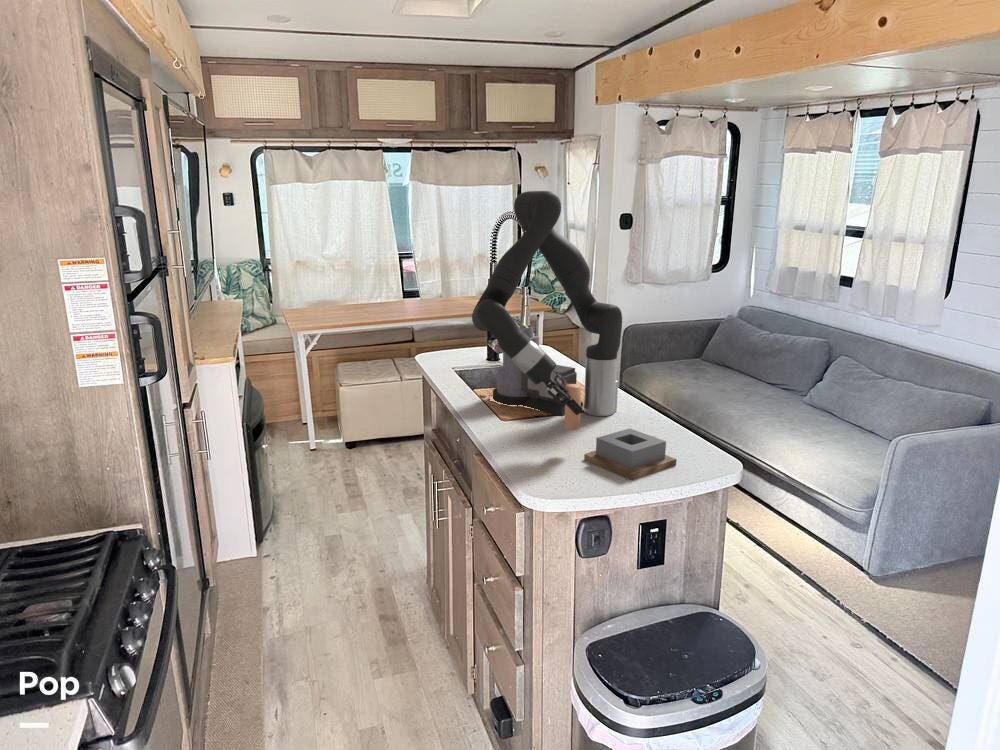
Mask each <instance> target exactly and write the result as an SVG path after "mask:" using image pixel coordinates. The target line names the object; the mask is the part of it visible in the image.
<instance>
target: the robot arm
mask: <svg viewBox="0 0 1000 750" xmlns="http://www.w3.org/2000/svg"><path fill="white" fill-rule="evenodd" d="M513 210H514V215H515V218H516V220H517V221H518V224H519V225H520V226H521V227H522V229H523V230H524V233H523V234H522V235H521V237H520V238H518V240H517V241H516V242H515V243H514V244H513V245H512V246H511V247H509V249H507V250H506V252H505V253H504V254H503V255H502V256H501V258H500V259H499V261H498V262H497V264H496V266H495V268H494V270H493V272H492V273H491V276H490V278H489V280H488V283H487V286H486V288H485V290H484V291H483V293H482V294H481V296H480V297H479V299H478V301H477V303H476V304H475V306H474V309H473V310H472V314H471V319H472V324H473V326H475V328H476V329H477V330H479V331H481V332H490V334H491V335H492V336H493V337H494V338H495V339H496V341H497V345H498V346H499V348H500V349H501V350H502V352H503V351H504V352H505V353H506V354H507V355H508V356H509V357H510V358H511V359H512V360H513V362H514V363H515V364H516V366H517V367H518V368H519V369H520V370H521V371H522V372H523V373H524V374H525V375H526V376H527V377H528V378H529V379H530V380H531V381H532V382H533V383H534V384H535V385H537V384H539V383H541V382H544V384H545V385H546V388H547V389H548V393H549V394H550V395H551V396H552V397H553V398H555V399H556V400H557V401H558V402H559V403H561V404H562V405H563V406H565V405H567V406H568V407H569V408H570V409H571V410H572V411H573V412H574V413H575V414H576V415H578V414H580V415H581V413H582V412H584V413H585V414H587V415H589V416H597V417H606V416H612V415H613V414H615V412H617V410H618V393H619V391H618V389H619V381H618V380H617V367H618V366H617V364H618V363H617V362H618V353H619V350H620V346H621V339H622V328H623V315H622V314H623V312H622V310H621V308H620V307H619V306H618V305H615V304H610V303H603V302H599V301H598V300H596V298H595V297H594V295H593V294H592V292H591V290H590V287H589V285H590V280H591V270H590V267H589V265H588V262H587V261H586V259H585V257H584V256H583V254H582V252H581V251H580V250H579V248H578V247H577V246H576V245H575V244H573V243H572V242H571V241H570V240H569V239H567V238H566V237H565V236H563V235H562V234H561V233H560V232H558V231H557V230H556V229H555V228H554V227H555V226H556V224H557V222H558V221H559V218H560V216H561V213H562V203H561V199H560V197H559V196H558V195H557V194H556V193H555V192H553V191H549V190H529V191H528V190H527V191H523V192H521V193H519V194H518V195H517V196H516V198H515V200H514V204H513ZM538 250H539V251H540V253H541V255H542V256H543V258H544V259H545V261H546V262H547V264H548V265H549V267H550V270H551V271H552V273H553V275H554V276H555V278H556V279H557V281H558V282H559V284H560V285H561V287H562V288H563V290H564V291H565V293H566V296H567V297H568V298H569V301H570V302H571V304H572V306H573V308H574V310H575V312H576V315H577V317H578V319H579V321H580V323H581V325H582V327H583V328H584V330H586V331H587V332H589V333H591V334H596V335H599V336H598V341H597V343H595V344H592V345H591V344H590V345H589V346H587V347H586V350H585V351H586V352H585V370H584V371H585V374H584V398H583V399H584V401H582V400H581V406H580V405H579V404H578V403H577V402H576V401H575V400H574V399H573V398H572V397H571V396H570V394H569V393H568V389H567V388H566V387H565V386H566V385H568V383H567V382H566V380H565V379H564V378H563V377H562V376H561V374H560V373H559V372H558V373H557V374H556V373H554V372H553V370H554V369H555V367H556V365H557V362H555V361H554V360H553V359H552V358H551V357H550V356H549V355H548V353H546V352H545V351H544V350H543V349H542V348H541V346H540V345H539V346H538V345H537V344H536V343H535V342H533V341H532V340H531V339H530V338H529V337H528V336H527V335H526V334H525V333H524V332H523V331H522V330H523V329H521V328H520V327H519V325H518V324H517V323H516V321H515V319H514V318H513V317H512V315H511V314H510V312H509V311H508V310H507V309H506V306H507V303H508V301H509V300H510V299H511V298H512V296H513V295H514V294H515V292H516V290H517V288H518V285H519V283H520V281H521V279H522V277H523V275H524V273H525V271H526V270H527V267H528V265H529V264H530V262H531V261H532V260H533V257H534V256H535V254H536V253H537V252H538ZM563 396H564V397H565V399H563V398H562V397H563Z"/></svg>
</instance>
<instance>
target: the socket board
mask: <svg viewBox="0 0 1000 750" xmlns="http://www.w3.org/2000/svg"><path fill="white" fill-rule="evenodd" d="M583 458H584V461H586V462H588V463H592V464H594V465H596V466H599V467H600V468H603V469H605V470H607V471H610V472H612V473H614V474H617V475H619V476H620V477H621V476H622V477H624V478H626V479H628V480H631V481H632V480H635V479H636V480H637V479H638V478H641V477H645V476H647V475H650V474H654V473H655V472H659V471H662V470H665V469H668V468H671V467H673V466H676V465H677V458H675V457H672V456H670V455H667V454H665V459H662V460H659V461H656V462H653V463H649V464H646V465H643V466H640V467H637V468H634V469H629V468H627V467H624V466H622V465H620V464H617V463H615V462H612V461H610V460H608V459H605V458H603V457H600V456H598V455H596V450H594V451H590V452H587V453H584V457H583Z"/></svg>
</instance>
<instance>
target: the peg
mask: <svg viewBox="0 0 1000 750" xmlns="http://www.w3.org/2000/svg"><path fill="white" fill-rule="evenodd" d="M565 387H566V388H567V389H568V393H569V394H570V396H571V397H572V398H573V399H574V400H575V401H576V402H577V403H578V404H579V405H580V406H581V401H582V385H581V384H577V383H576V384H568V385H566V386H565ZM563 422H564V423H563V424H564V429H566V430H570V431H577V430H579V429H581V413H580V414H578V415H576V414H575V413H574V412H573V411H572V410H571V409H570V408H569V407H568V406H567V405H565V415H564V421H563Z"/></svg>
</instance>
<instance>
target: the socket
mask: <svg viewBox="0 0 1000 750" xmlns="http://www.w3.org/2000/svg"><path fill="white" fill-rule="evenodd" d="M595 443H596V444H595V451H596V455H598V456H600V457H603V458H605V459H608V460H610V461H612V462H615V463H617V464H620V465H622V466H624V467H627V468H629V469H634V468H637V467H640V466H643V465H646V464H649V463H653V462H656V461H659V460H662V459H665V455H666V450H667V449H666V448H667V440H663V439H660V438H658V437H655V436H653V435H650V434H647V433H644V432H642V431H639V430H635V429H633V428H631V427H630V428H627V429H626V428H625V429H622V430H620V431H616V432H612V433H609V434H605V435H601V436H597V437H596V442H595Z"/></svg>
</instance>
